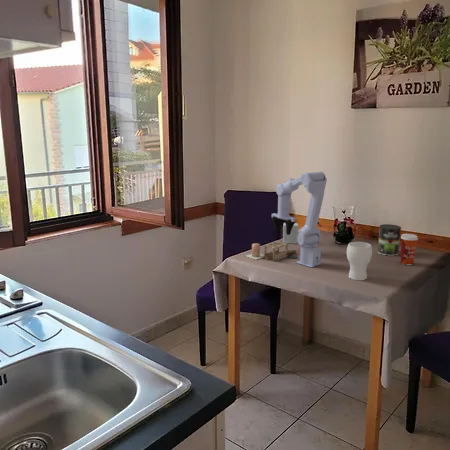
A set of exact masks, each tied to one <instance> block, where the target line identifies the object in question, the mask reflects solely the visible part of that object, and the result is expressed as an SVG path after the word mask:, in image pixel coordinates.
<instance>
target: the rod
mask: <svg viewBox="0 0 450 450" xmlns="http://www.w3.org/2000/svg"><path fill="white" fill-rule="evenodd" d="M282 253H285V250H283V251H279V252H278V253H275V255H278V254H282ZM263 255H264V254H263ZM291 255H294V256H297V250H295V249H289V250H288V252H287V256H291ZM263 259H264V260H265V261H271V260H273V253H272V254H267V255H264V258H263Z"/></svg>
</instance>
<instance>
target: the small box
mask: <svg viewBox="0 0 450 450" xmlns="http://www.w3.org/2000/svg"><path fill="white" fill-rule="evenodd" d="M282 226H283V227H282V231H283V232H282V233H283V234H282V241H283V242H282V243H284V244H293V245H294V244H298V242H297V235H298V234H299V224H298V222H295V224H294V225H293V227H292V230H291V233H290V235H287V233H286V224H285V222H283V225H282Z"/></svg>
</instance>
